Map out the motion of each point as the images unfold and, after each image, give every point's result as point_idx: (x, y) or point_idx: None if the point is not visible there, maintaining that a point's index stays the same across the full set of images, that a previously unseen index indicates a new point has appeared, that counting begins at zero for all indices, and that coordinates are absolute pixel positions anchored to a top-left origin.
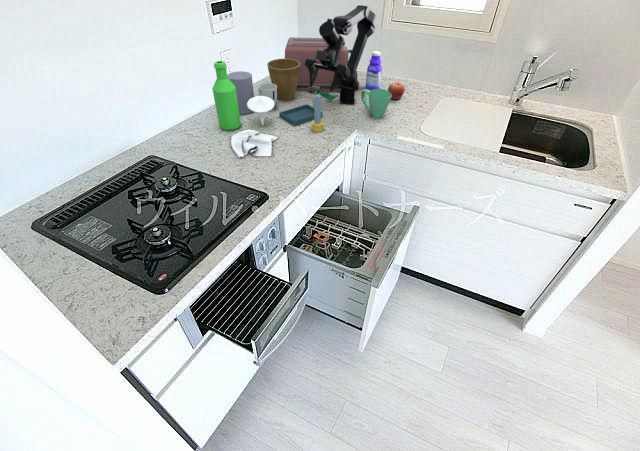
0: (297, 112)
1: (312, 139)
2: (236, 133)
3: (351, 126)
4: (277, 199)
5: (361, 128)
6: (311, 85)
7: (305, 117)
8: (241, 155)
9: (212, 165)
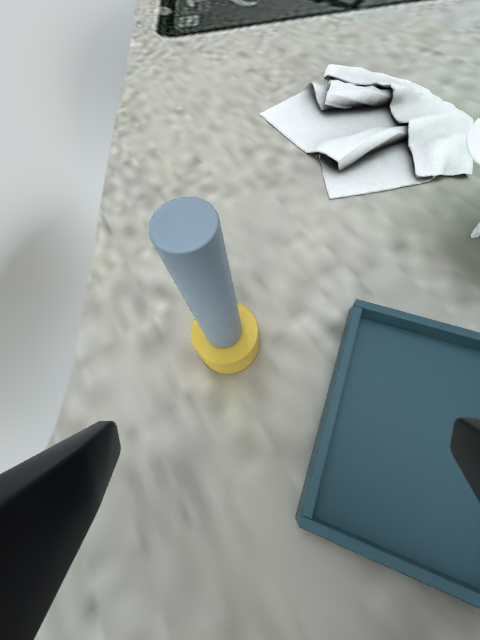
0: None
1: None
2: None
3: None
4: (139, 38)
5: None
6: (466, 448)
7: (339, 375)
8: (329, 69)
9: (358, 29)
